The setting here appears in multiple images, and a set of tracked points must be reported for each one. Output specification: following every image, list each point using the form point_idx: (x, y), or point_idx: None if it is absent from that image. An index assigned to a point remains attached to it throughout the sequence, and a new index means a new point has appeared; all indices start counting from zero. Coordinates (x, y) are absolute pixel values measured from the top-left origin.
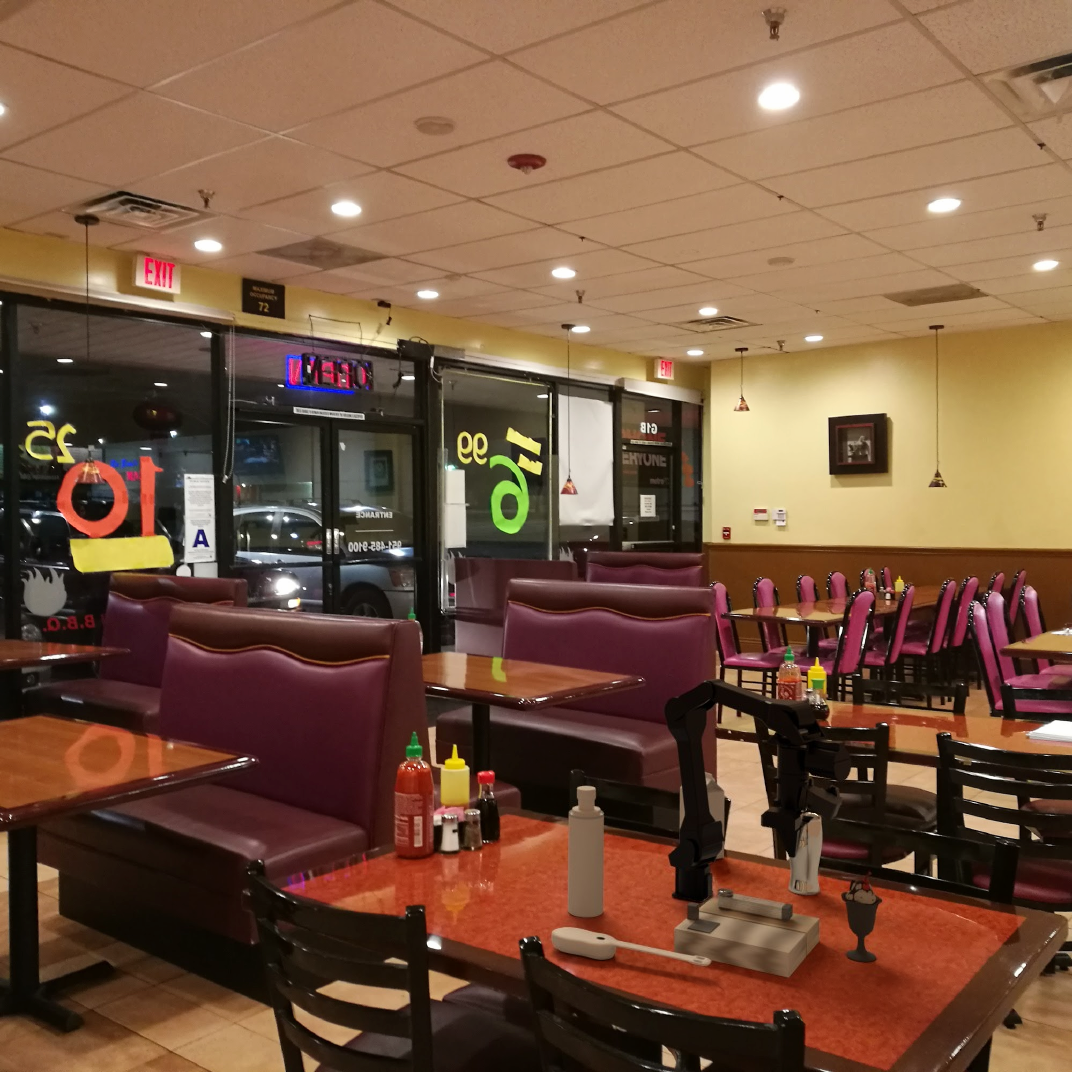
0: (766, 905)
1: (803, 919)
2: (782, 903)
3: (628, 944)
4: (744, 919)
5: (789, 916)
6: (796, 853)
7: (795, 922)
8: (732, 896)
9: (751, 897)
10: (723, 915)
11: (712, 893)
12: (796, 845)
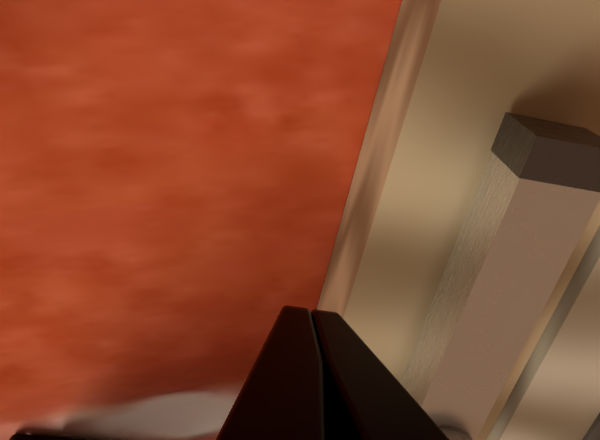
0: (558, 271)
1: (499, 43)
2: (525, 197)
3: None
4: (549, 315)
5: (571, 129)
6: (291, 323)
7: (558, 85)
8: (458, 425)
9: (451, 354)
10: (511, 390)
11: (25, 435)
12: (415, 420)
